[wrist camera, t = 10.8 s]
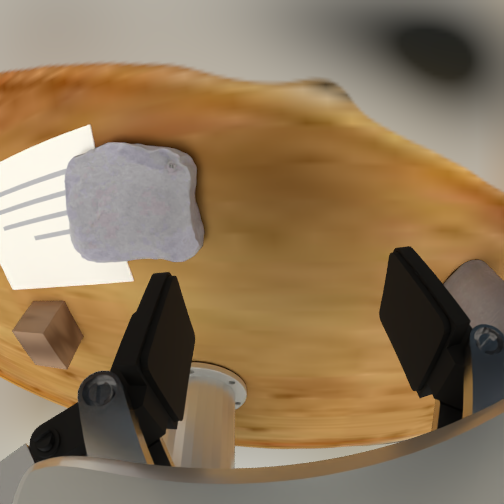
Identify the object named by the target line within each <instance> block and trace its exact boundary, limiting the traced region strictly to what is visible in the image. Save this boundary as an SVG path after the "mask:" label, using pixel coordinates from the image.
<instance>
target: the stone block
mask: <svg viewBox="0 0 504 504" xmlns="http://www.w3.org/2000/svg"><path fill="white" fill-rule="evenodd" d="M196 175H197V167H196V165H195V163H194V162H193V159H192V158H191V157H190V156H189V155H188V154H186V153H183V152H181V151H179V150H177V149H174V148H170V147H157V146H146V145H142V144H129V143H125V142H122V143H119V142H109V143H106V144H104V145H102V146H100V147H97V148H96V149H91V150H89V151H88V152H86V153H84V154H80V155H77V156H74V157H73V158H72V159H71V160H70V161H69V163H68V165H67V169H66V173H65V181H64V182H65V195H66V209H67V216H68V219H69V231H70V237H71V241H72V244H73V246H74V248H75V250H76V251H77V252H78V253H80V254H81V257H82V258H84V259H86V260H87V261H94V262H96V263H107V262H122V261H130V260H135V259H145V258H150V259H165V260H169V261H172V262H182V261H186V260H188V259H190V258H192V257H193V256H194V255H195V254H196V253H197V252H198V251H199V249H200V248H201V247H202V246H203V240H204V227H203V223H202V221H201V216H200V212H199V208H198V206H197V203H196V199H195V189H196V183H197V180H196Z"/></svg>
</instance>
